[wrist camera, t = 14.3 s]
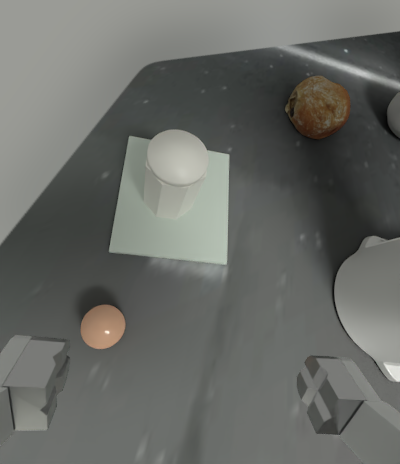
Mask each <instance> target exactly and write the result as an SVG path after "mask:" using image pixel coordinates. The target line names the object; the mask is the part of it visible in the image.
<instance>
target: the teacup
mask: <svg viewBox="0 0 400 464" xmlns="http://www.w3.org/2000/svg"><path fill="white" fill-rule="evenodd" d="M387 118H388V120H387V121H388V125H389V127H390V129H391V130H392V132H393V133H394V134H395V135H396V136H397V137H399V138H400V92H399V93H398V94H397V95H396V96H395V97H394V98H393V99H392V101H391V102H390V104H389V106H388V109H387Z"/></svg>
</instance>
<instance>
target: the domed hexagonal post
mask: <svg viewBox="0 0 400 464" xmlns="http://www.w3.org/2000/svg"><path fill="white" fill-rule="evenodd" d="M208 163H209V156H208V152H207V149H206V147H205V146H204V144H203V143H202V142H201V141H200V140H199V139H198V138H197V137H196V136H194V135H193V134H191V133H189V132H186V131H182V130H166V131H163V132H161V133H159V134H157V135H156V136H155V137H154V138H153V139H152V140H151V142H150V143H149V145H148V150H147V160H146V167H145V184H144V201H143V202H144V203H145V204H146V205H147V207H148V208H149V209H150V210H151V211H152V212H153V214H154V215H155V216H156V217H161V218H169V219H178V218H179V217H180V216H182V215H183V214H184V213H186V212H187V211H188V210H190V209H191V208H192V205H193V203H194V201H195V199H196V197H197V195H198V193H199V190H200V188H201V186H202V184H203V182H204V180H205V178H206V172H207V167H208Z"/></svg>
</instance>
